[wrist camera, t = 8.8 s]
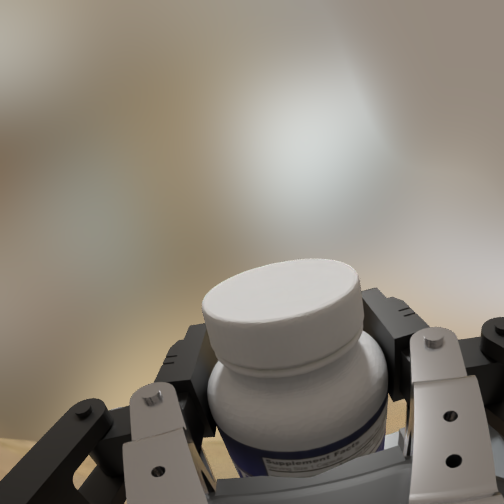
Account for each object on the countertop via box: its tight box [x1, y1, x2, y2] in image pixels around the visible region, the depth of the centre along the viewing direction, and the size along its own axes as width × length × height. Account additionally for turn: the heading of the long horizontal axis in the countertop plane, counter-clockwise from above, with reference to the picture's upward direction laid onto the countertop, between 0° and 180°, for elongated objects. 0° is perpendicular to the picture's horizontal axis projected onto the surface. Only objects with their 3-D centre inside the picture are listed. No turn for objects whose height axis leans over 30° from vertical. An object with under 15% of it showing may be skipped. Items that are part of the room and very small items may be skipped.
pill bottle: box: [202, 259, 388, 478], centre depth 9 cm, size 5×5×9 cm
